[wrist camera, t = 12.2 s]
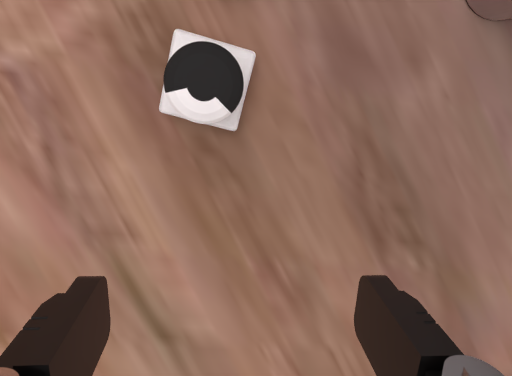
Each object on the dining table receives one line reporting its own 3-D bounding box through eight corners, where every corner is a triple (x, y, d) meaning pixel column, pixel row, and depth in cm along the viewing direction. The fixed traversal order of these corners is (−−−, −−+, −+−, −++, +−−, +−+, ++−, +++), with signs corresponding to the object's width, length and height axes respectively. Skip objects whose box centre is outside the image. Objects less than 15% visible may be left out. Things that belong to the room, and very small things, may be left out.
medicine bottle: (183, 35, 37) (164, 18, 25) (251, 55, 38) (262, 48, 26) (169, 105, 39) (146, 118, 27) (234, 122, 40) (238, 142, 28)
